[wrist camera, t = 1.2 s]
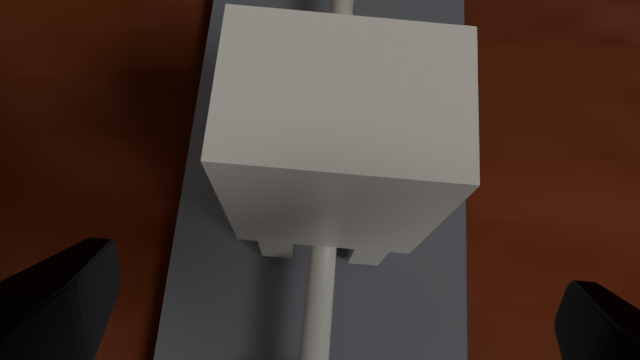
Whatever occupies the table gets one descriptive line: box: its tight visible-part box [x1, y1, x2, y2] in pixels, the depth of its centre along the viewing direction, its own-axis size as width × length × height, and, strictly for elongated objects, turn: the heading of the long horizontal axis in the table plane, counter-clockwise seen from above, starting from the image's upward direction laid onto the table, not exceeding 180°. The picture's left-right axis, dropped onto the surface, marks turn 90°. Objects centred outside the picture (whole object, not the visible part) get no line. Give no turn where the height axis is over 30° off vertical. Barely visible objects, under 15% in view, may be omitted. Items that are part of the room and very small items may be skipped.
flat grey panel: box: [153, 0, 467, 360], centre depth 22 cm, size 26×12×5 cm, turn 176°
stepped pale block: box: [201, 4, 480, 266], centre depth 17 cm, size 4×6×10 cm, turn 85°
